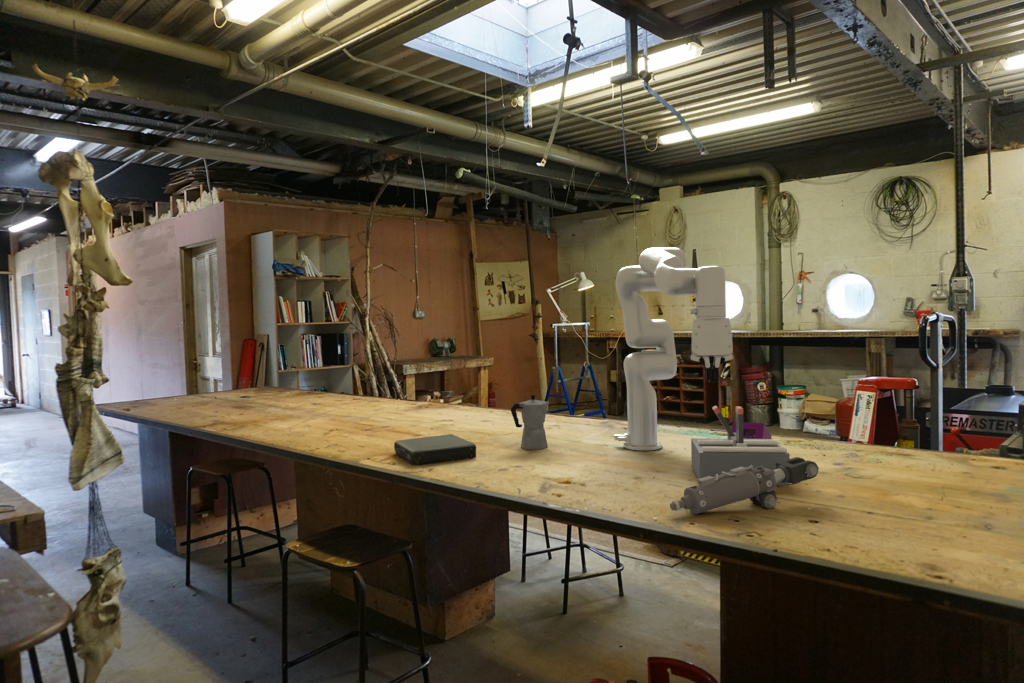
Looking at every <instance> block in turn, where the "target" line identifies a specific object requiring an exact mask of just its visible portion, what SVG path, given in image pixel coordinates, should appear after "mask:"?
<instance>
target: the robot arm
mask: <svg viewBox="0 0 1024 683" xmlns="http://www.w3.org/2000/svg"><path fill="white" fill-rule="evenodd" d="M615 290H616V294H617V297H618V301H619V303H620V306H621V309H622V310H621V311H622V320H623V328H624V337H625V341H626V344H627V346H628V347H630V348H633V349H646V348H647V349H648V348H649V349H651V348H652V349H654V348H655V349H656V351H637V352H632V353H629V354H628V355H627V356H625V358H624V360H623V371H624V376H625V377H624V378H625V383H626V400H627V401H626V402H627V403H626V404H627V408H626V410H627V431H626V433H623V434H614V441H617V442H623V441H624V442H623V447H624V448H625V449H628V450H632V451H645V452H646V451H647V452H648V451H655V450H656V451H657V450H659V449H662V448H663V443H662V442H661V441H658V412H657V411H658V410H657V408H658V406H657V404H658V403H657V401H658V400H657V391H656V390H655V388H654V387H653V386H652V384H651V382H652V381H662V380H670V379H673V378H674V377H675V375H676V374H677V368H678V363H677V362H678V360H677V354H676V353H677V352H676V351H677V350H676V345H675V344H676V343H675V335H674V331H673V328H672V325H671V323H670V322H669V321H668V320H665V319H662V318H655V319H654V318H653V319H651V318H650V313H649V306H648V303H647V301H646V300H645V299H644V298H643V297H642V295H641V294H640V293H638V292H663V293H664V294H666V295H668V296H672V297H673V296H674V297H679V296H683V297H684V296H688V297H689V296H695V307H694V308H693V309H689V311H690V315H691V316H692V315H693V316H695V318H693V320H692V328H691V340H690V342H691V344H690V345H691V346H690V348H691V349H690V350H691V354H690V360H691V361H694V362H698V363H700V364H701V365H703V367H705V380H706V381H708V383H709V384H712V383H713V384H716V383H717V380H719V368H720V366H721V365H722V364H724V362H729V361H731V360H734V356H733V355H734V354H733V349H734V348H733V347H734V345H733V336H732V335H733V333H732V326H731V320H730V318H729V317H727V314H726V313H727V312H726V310H727V308H726V305H727V303H726V271H725V268H724V267H723V266H721V265H708V266H707V265H706V266H700V267H698V268H696V267H695V268H694V267H687V255H686V254H685V252H684V250H682V249H681V248H679V247H675V246H674V247H666V246H665V247H664V246H663V247H662V246H661V247H657V246H656V247H649V248H646V249H645V250H643V251H642V252H641V253H640V255H639V258H638V265H629V266H625V267H621V269H619V270H618V272H617V274H616V278H615ZM710 357H714V358H713V364H712V365H711V363H710ZM650 381H651V382H650Z"/></svg>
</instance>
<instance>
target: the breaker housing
mask: <svg viewBox="0 0 1024 683" xmlns="http://www.w3.org/2000/svg"><path fill="white" fill-rule="evenodd" d="M711 408H712V411H713V412H714V413H715V415H716V417H717V419H718V420H719V422H720V423H721V425H722V426H723V428H724V430H725V431H726V433H727V438H702V437H700V438H699V437H698V438H694V437H693V438H690V441H691V442H690V443H691V444H690V445H691V447H690V448H691V450H690V452H691V468H692V469H693V471H694V472H693V473H694V474H695V476H696V478H697V480H698V479H701V478H704V477H708V476H711V477H715V476H716V474H718V475H722V472H726V473H728V472H730V470H732V469H735V468H739V467H745V468H746V467H749V466H750V465H752V466H753V468H756V467H760V466H763V467H764V468H768V469H770V470H775V469H776V463H777V462H780V461H785V460H788V459H791V458H790V452H788V448H787V447H782V446H781V445H780V444H779V441H778V440H775V439H773V438H771V439H744V443H737V445H736V433H733V431H732V427H731V426H730V425H729V423H728V422H727V420H726V418H725V417H724V415H723V414H722V412H721V410H720V409H719V407H718V406H717V405H714V406H712V407H711ZM722 478H723V477H722ZM699 484H701V483H699ZM790 484H791V483H789V482H784V483H783V482H781V481H780V482H777V483H776V486H790Z"/></svg>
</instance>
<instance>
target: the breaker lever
mask: <svg viewBox="0 0 1024 683" xmlns="http://www.w3.org/2000/svg"><path fill="white" fill-rule="evenodd" d="M735 422H736V445H737V443H744V430H743V422H744V408H743V407H742V406H737V405H736V406H735Z"/></svg>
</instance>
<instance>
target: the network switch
mask: <svg viewBox="0 0 1024 683" xmlns="http://www.w3.org/2000/svg"><path fill="white" fill-rule="evenodd" d="M393 448H394V452H395V455H396V456H397V455H398V456H400V457H401V458H403V459H404V460H406V461H407V462H408V463H409V464H410V465H413V466H422V465H428V464H436V463H442V462H453V461H459V459H461V460H467V459H466V458H469V459H474V458H473V457H475V458H477V445H476V444H475V443H474V442H471V441H470V440H467V439H464V438H462V437H460V436H458V435H454V434H452V433H450V434H449V433H448V434H442V435H432V436H431V435H430V436H425V437H424V436H423V437H416V438H409V439H408V438H407V439H398V440H396V441H394V442H393ZM452 460H453V461H452Z"/></svg>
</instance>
